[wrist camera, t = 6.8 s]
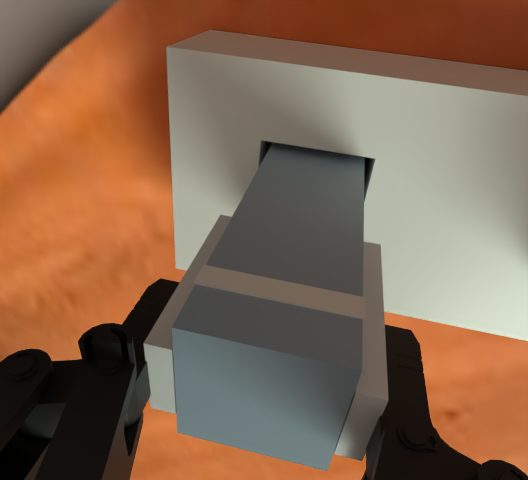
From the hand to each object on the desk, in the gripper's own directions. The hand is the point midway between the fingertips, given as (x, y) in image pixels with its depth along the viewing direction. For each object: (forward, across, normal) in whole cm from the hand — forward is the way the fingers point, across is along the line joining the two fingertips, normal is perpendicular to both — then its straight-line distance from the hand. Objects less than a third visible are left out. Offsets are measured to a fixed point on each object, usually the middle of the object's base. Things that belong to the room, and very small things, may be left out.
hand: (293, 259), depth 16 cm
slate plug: (+7, 0, 0) cm, 7 cm away
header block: (+11, +7, 0) cm, 13 cm away
